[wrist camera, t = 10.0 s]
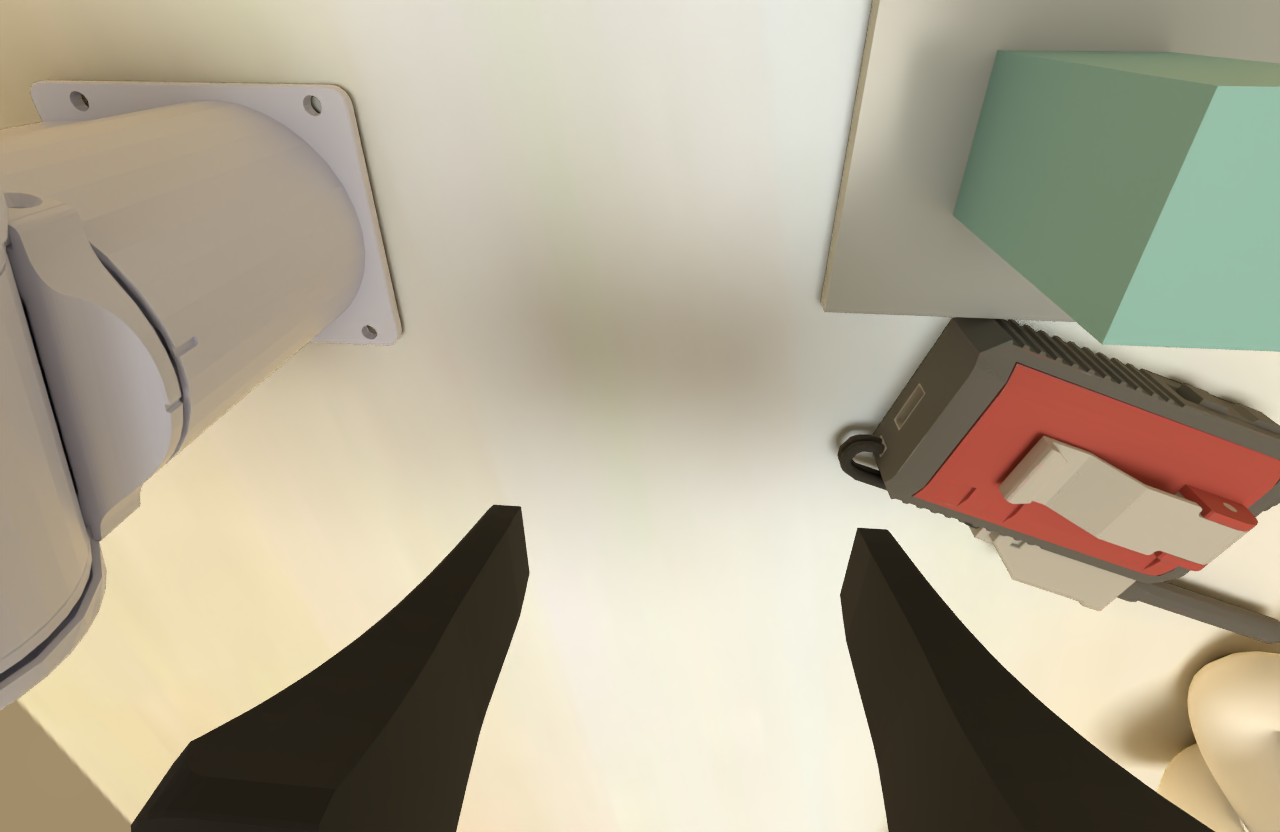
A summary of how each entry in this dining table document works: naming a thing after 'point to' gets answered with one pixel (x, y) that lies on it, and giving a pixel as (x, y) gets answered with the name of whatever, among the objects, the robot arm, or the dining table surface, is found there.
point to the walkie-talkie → (1078, 467)
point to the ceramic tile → (944, 131)
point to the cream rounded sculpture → (1231, 746)
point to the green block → (1135, 192)
